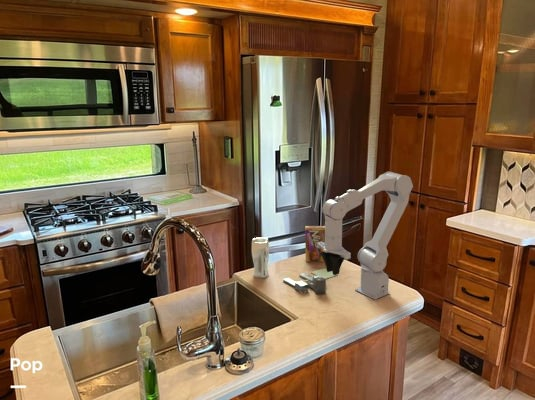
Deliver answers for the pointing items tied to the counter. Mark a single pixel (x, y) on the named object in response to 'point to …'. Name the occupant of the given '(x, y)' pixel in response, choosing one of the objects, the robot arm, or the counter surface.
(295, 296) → the counter surface
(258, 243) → the beer glass
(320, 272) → the plate
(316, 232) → the candy box
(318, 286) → the grey tapered rounded piece
